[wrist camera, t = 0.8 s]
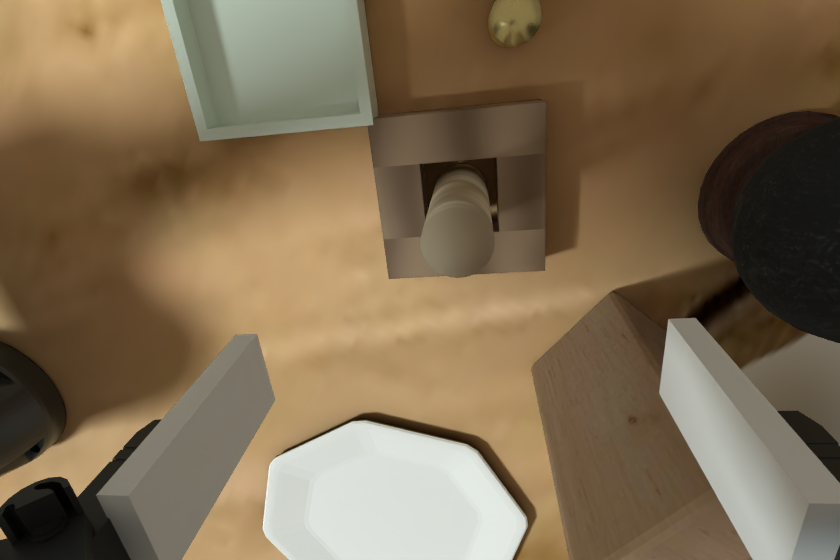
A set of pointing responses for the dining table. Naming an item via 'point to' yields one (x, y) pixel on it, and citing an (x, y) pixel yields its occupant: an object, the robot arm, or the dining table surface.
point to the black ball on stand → (782, 216)
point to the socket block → (454, 141)
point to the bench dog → (514, 21)
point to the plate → (389, 499)
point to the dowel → (458, 223)
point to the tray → (273, 65)
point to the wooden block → (624, 447)
